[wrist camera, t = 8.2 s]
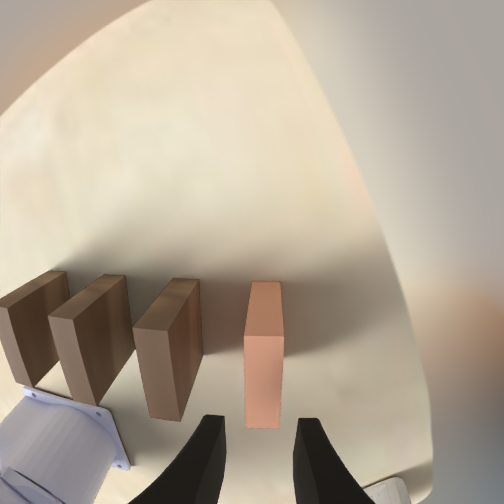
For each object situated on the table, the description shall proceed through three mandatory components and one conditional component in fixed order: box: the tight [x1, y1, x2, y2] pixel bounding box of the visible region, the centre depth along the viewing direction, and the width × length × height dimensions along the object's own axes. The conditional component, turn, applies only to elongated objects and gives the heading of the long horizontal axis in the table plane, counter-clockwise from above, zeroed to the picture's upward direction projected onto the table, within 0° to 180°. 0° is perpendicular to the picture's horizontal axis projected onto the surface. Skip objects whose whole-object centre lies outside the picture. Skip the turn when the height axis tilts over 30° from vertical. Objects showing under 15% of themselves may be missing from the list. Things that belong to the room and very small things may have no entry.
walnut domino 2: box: [48, 274, 136, 406], centre depth 16 cm, size 2×5×6 cm, turn 179°
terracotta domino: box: [244, 281, 284, 428], centre depth 15 cm, size 2×5×6 cm, turn 0°
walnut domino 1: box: [0, 271, 70, 388], centre depth 16 cm, size 2×5×6 cm, turn 179°
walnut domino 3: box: [133, 278, 203, 422], centre depth 15 cm, size 2×5×6 cm, turn 0°
